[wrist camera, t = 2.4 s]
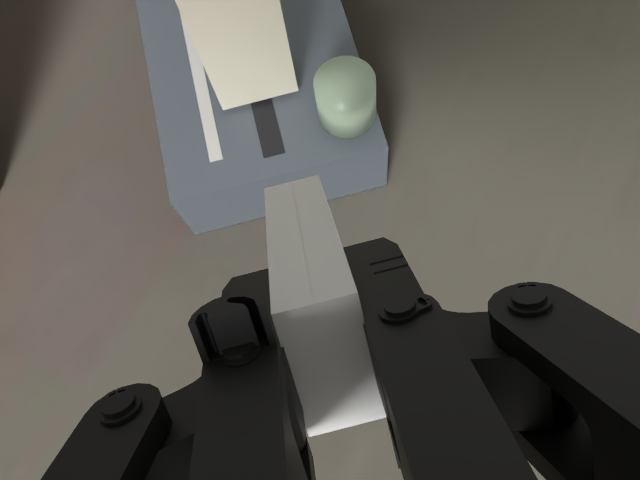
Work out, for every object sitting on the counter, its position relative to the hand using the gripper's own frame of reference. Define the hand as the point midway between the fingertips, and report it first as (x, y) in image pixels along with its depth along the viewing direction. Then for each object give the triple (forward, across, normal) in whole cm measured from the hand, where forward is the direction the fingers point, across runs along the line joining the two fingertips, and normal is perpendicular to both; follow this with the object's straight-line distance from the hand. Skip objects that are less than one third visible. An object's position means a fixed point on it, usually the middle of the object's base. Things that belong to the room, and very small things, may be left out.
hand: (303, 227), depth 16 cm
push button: (+12, +3, 0) cm, 12 cm away
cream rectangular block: (+14, -1, +2) cm, 14 cm away
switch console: (+20, -1, +2) cm, 20 cm away
